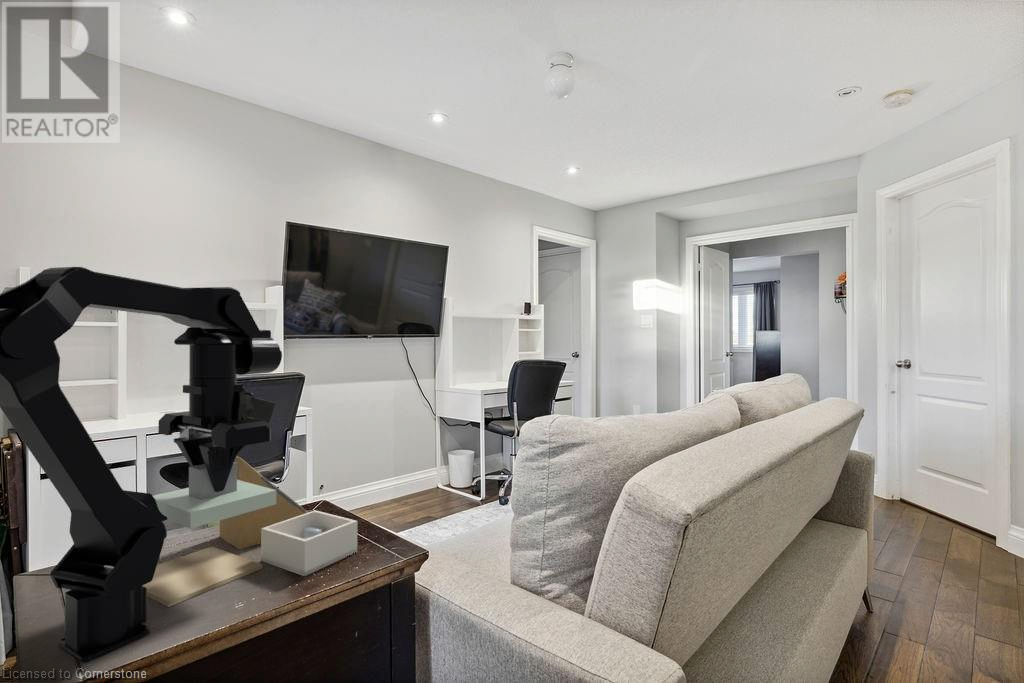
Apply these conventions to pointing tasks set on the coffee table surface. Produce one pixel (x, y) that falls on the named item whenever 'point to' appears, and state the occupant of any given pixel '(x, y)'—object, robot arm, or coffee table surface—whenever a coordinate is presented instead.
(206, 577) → the cork mat
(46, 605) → the coffee table surface
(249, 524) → the wooden ramp
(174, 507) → the lid
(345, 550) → the storage box
